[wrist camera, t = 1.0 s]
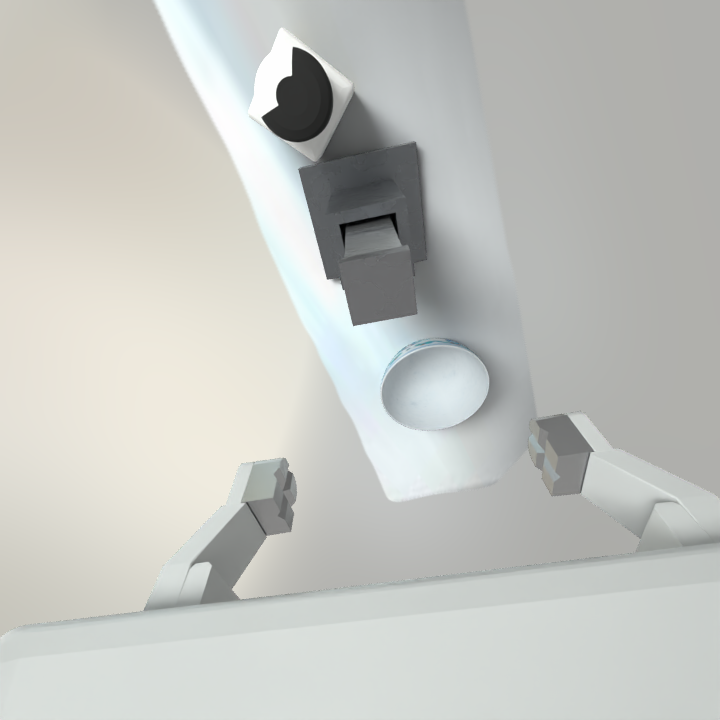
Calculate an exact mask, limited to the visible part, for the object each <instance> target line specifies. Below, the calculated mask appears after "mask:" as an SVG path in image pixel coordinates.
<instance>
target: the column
mask: <svg viewBox="0 0 720 720" xmlns="http://www.w3.org/2000/svg"><path fill="white" fill-rule="evenodd" d="M338 264H339V269H340V273H341V277H342V281H343V286H344V290H345V294H346V298H347V303H348V307H349V311H350V315H351V319H352V324H353V326H356V325H361V324H367V323H372V322H378V321H383V320H388V319H394V318H399V317H405V316H410V315H415V314H417V306H416V298H415V290H414V281H413V273H412V264H411V256H410V249H409V247H408V245H404V246H402V245H401V243H400V240H399V238H398V236H397V233H396V231H395V228H394V226H393V224H392V221H391V219H390V216H389V214H385V215H381V216H376V217H371V218H367V219H362V220H357V221H352V222H348V223H346V235H345V256H344V258H341V259H339V262H338Z"/></svg>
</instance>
